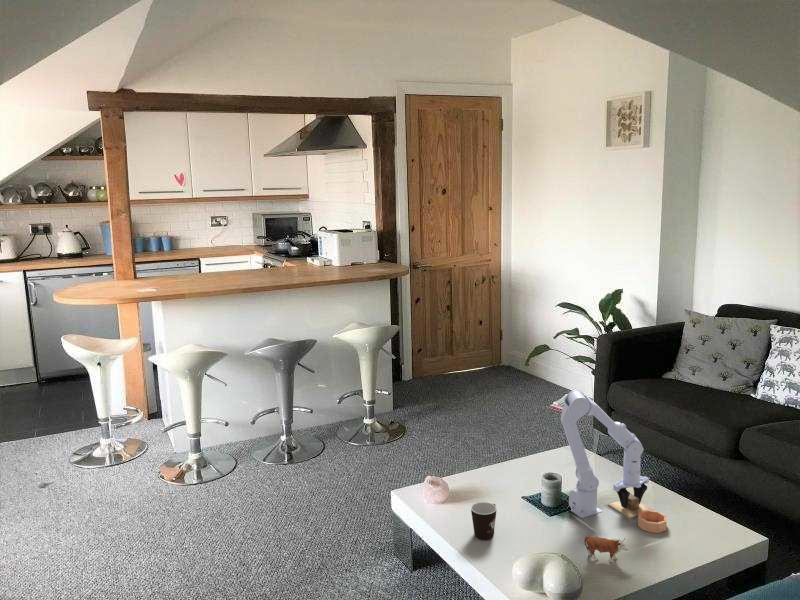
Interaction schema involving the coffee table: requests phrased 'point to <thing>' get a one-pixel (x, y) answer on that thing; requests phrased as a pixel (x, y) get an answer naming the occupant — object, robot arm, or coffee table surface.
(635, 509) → the oak lid
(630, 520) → the mat
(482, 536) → the coffee mug
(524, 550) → the coffee table surface
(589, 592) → the coffee table surface
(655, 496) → the coffee table surface
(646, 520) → the terracotta bowl
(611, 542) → the bull figurine
